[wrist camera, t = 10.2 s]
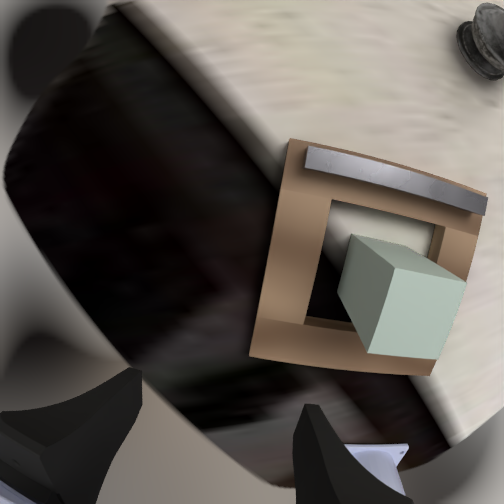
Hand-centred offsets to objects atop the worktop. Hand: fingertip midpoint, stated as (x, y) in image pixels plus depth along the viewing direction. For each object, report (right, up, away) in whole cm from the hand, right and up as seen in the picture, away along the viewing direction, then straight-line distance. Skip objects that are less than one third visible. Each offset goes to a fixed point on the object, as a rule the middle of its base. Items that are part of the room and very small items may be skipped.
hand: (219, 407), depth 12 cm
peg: (+9, +6, +8) cm, 13 cm away
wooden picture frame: (+9, +5, +8) cm, 13 cm away
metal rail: (+10, +11, +5) cm, 16 cm away
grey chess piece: (+19, +22, +3) cm, 30 cm away
